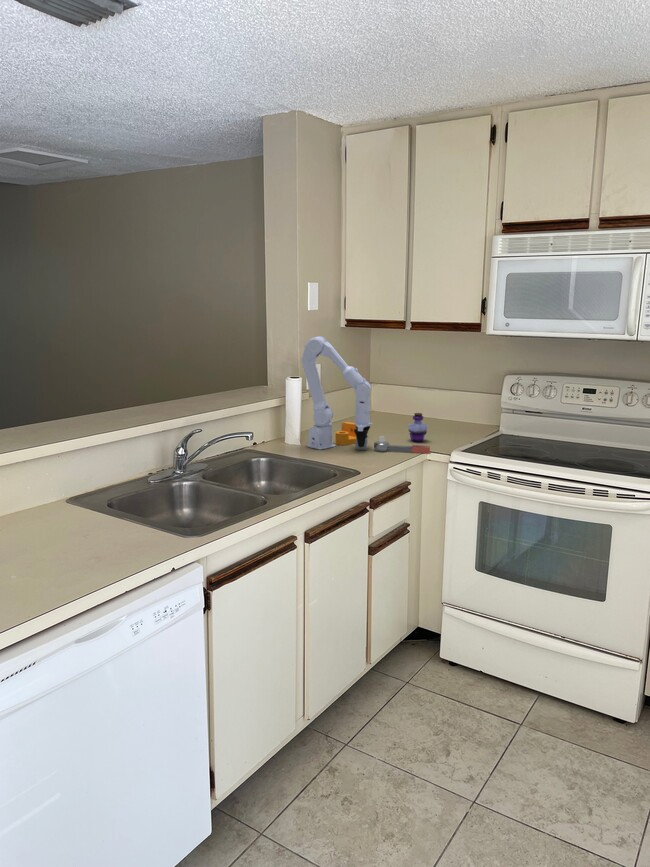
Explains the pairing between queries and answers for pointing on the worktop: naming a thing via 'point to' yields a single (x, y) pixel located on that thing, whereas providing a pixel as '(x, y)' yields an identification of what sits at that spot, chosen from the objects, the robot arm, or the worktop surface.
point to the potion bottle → (417, 428)
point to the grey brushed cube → (364, 444)
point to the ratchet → (399, 447)
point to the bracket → (346, 434)
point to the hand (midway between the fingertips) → (361, 445)
